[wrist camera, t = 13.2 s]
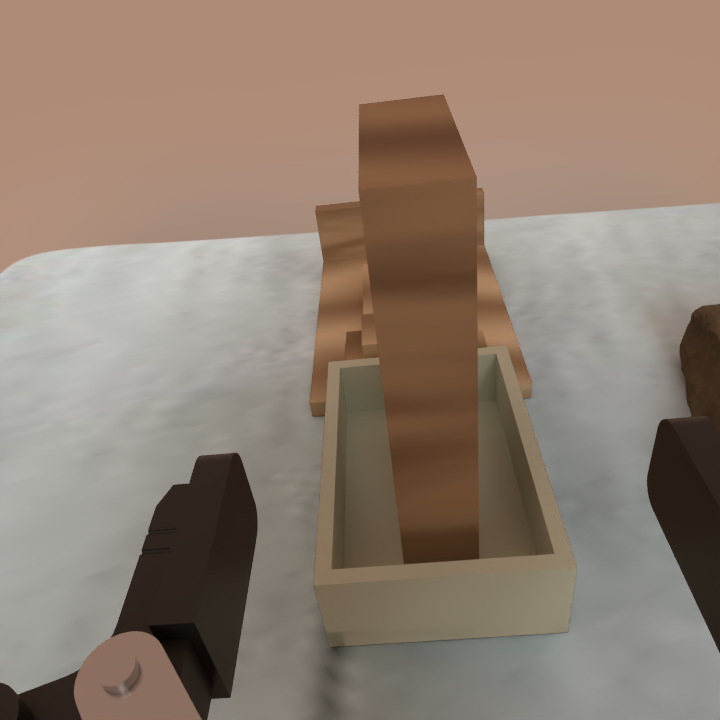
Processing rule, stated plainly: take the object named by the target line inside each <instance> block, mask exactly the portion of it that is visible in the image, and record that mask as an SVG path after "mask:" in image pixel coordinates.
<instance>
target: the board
mask: <svg viewBox="0 0 720 720" xmlns="http://www.w3.org/2000/svg"><path fill="white" fill-rule="evenodd" d="M476 180H477V179H476V175H475V172H474V170H473V167H472V165H471V162H470V160H469V157H468V155H467V152H466V150H465V147H464V145H463V142H462V140H461V137H460V135H459V132H458V129H457V127H456V125H455V122H454V119H453V117H452V115H451V112H450V110H449V107H448V105H447V102H446V99H445V97H444V95H436V96H427V97H419V98H410V99H402V100H394V101H385V102H377V103H368V104H360V105H359V198H360V206H361V214H362V222H363V231H364V239H365V247H366V255H367V264H368V272H369V280H370V288H371V297H372V305H373V313H374V321H375V330H376V338H377V346H378V355H379V363H380V371H381V379H382V388H383V396H384V404H385V412H386V421H387V429H388V437H389V445H390V454H391V462H392V470H393V478H394V487H395V495H396V503H397V512H398V520H399V528H400V536H401V545H402V553H403V561H404V564H418V563H432V562H446V561H461V560H475V559H479V468H478V323H477V187H476V186H477V185H476V184H477V181H476Z"/></svg>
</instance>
